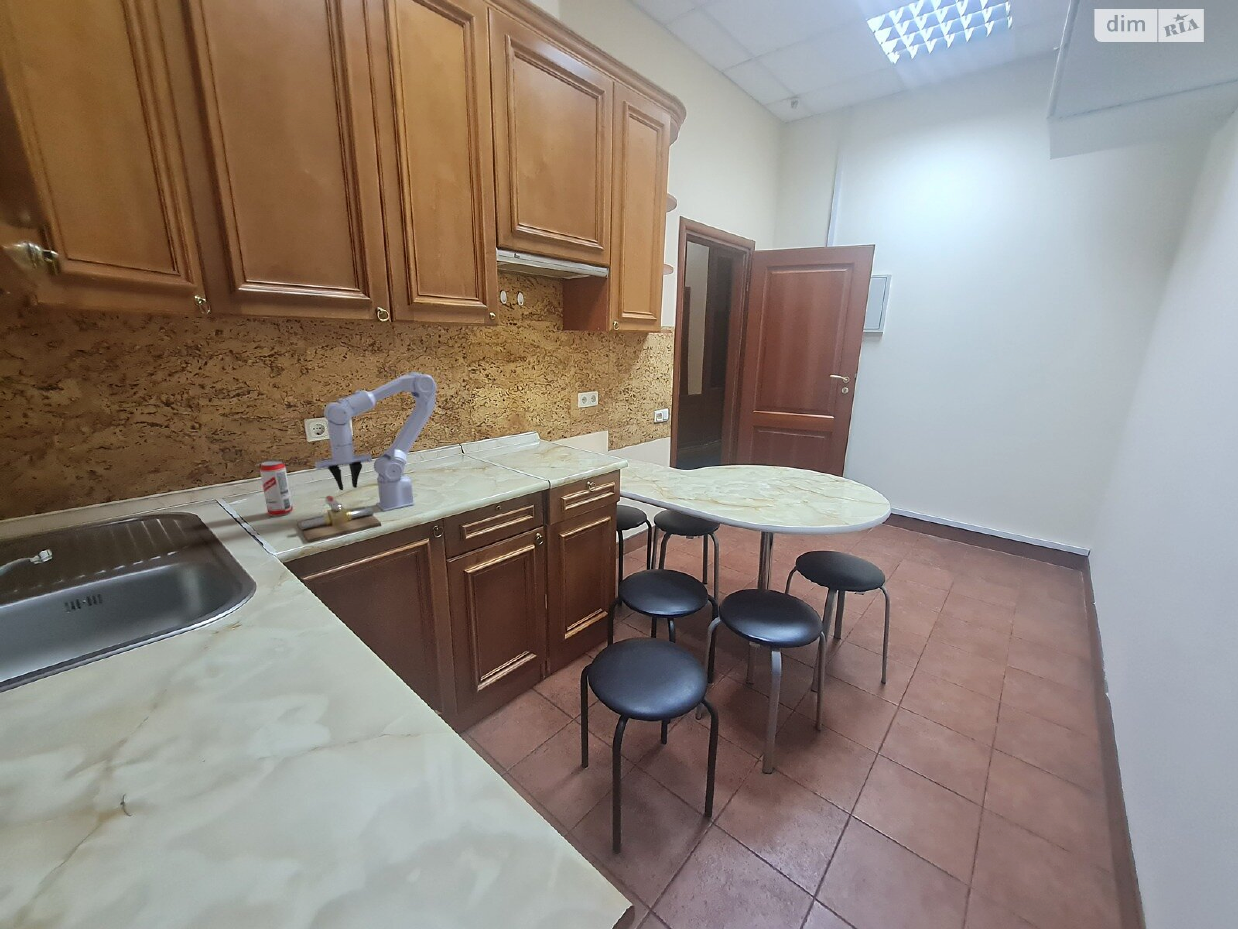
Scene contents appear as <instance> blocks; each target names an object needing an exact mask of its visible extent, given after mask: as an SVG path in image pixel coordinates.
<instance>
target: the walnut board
mask: <svg viewBox="0 0 1238 929" xmlns="http://www.w3.org/2000/svg"><path fill="white" fill-rule="evenodd" d="M364 508H366V507H365V506H364V507H361V508H360V507H359V508H354V509H349V510H350V511H355V510H359V509H364ZM321 517H324V515H321V516H316V517H312V518H307V519H301V520H297V521H296V526H297V527H298V529H299V531H300V532H301V534H302V535H303V537H304V539H305V540H306V541H307V543H308V544H311V543H316V542H318V541H324V540H327V539H333V538H337V537H339V536H345V535H349V534H352V533H353V534H354V533H356V532H361V531H365V530H370V529H374V528H378V527H382V522H381V521H380V520H379V519H378V518H377V517H375V515H374V514H373V515H370V516H365V517H361V518H356V519H352V521H348V523H344V524H339V525H335V526H332V525H329V526H326V525H324V526H320V527H315V528H311V529H306V530H302V529H301V526H300V522H302V521H307V520H312V519H316V518H321Z"/></svg>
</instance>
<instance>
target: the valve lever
mask: <svg viewBox="0 0 1238 929" xmlns="http://www.w3.org/2000/svg"><path fill="white" fill-rule="evenodd" d="M324 499H325V502H326V503H327V504H328V505H329V507H330V508H331V509H330V510H332V511H337V510H341V509H342V507H343V506H342V503H339V501H337V500H336V499H335V498H334V496H332V495H327V496H325V497H324Z"/></svg>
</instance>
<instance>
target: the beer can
mask: <svg viewBox="0 0 1238 929" xmlns="http://www.w3.org/2000/svg"><path fill="white" fill-rule="evenodd" d="M260 465H261V466H260V469H259V472H260V473H259V474H260V478H261V479H260V480H261V483H262V488H263V494H264V498H265V499H264V500H265V505H266V510H267V513H268V515H270V516H272V517H283V516H286V515H289V514H291V512H292V511H293V510H294V507H293V502H292V496H291V491H290V484H289V479H288V473H287V468H286V465H285V464H284V463H283V461H282V460H267V461H263V462H261V463H260Z"/></svg>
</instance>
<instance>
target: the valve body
mask: <svg viewBox="0 0 1238 929" xmlns="http://www.w3.org/2000/svg"><path fill="white" fill-rule="evenodd" d="M363 508H364V507H363ZM358 509H359V508H358ZM350 510H351V509H349V510H346V509H345V507H343V506H342V509H341V510H337V511H332V510H331V509H328V510H327V514H324V515H323V516H324V517H321V518H316V517H315V518H316V519H312V520H307V521H302V522H300V526H301V529H302V530H306V529H311V528H315V527H320V526H324V525H326V526H329V525H332V526H335V525H339V524H344V523H348V521H352V519H356V518H361V517H365V516H370V515H373V516H374V510H373V507H372V506H370V507H365V508H364V509H359V510H355V511H350Z"/></svg>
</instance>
